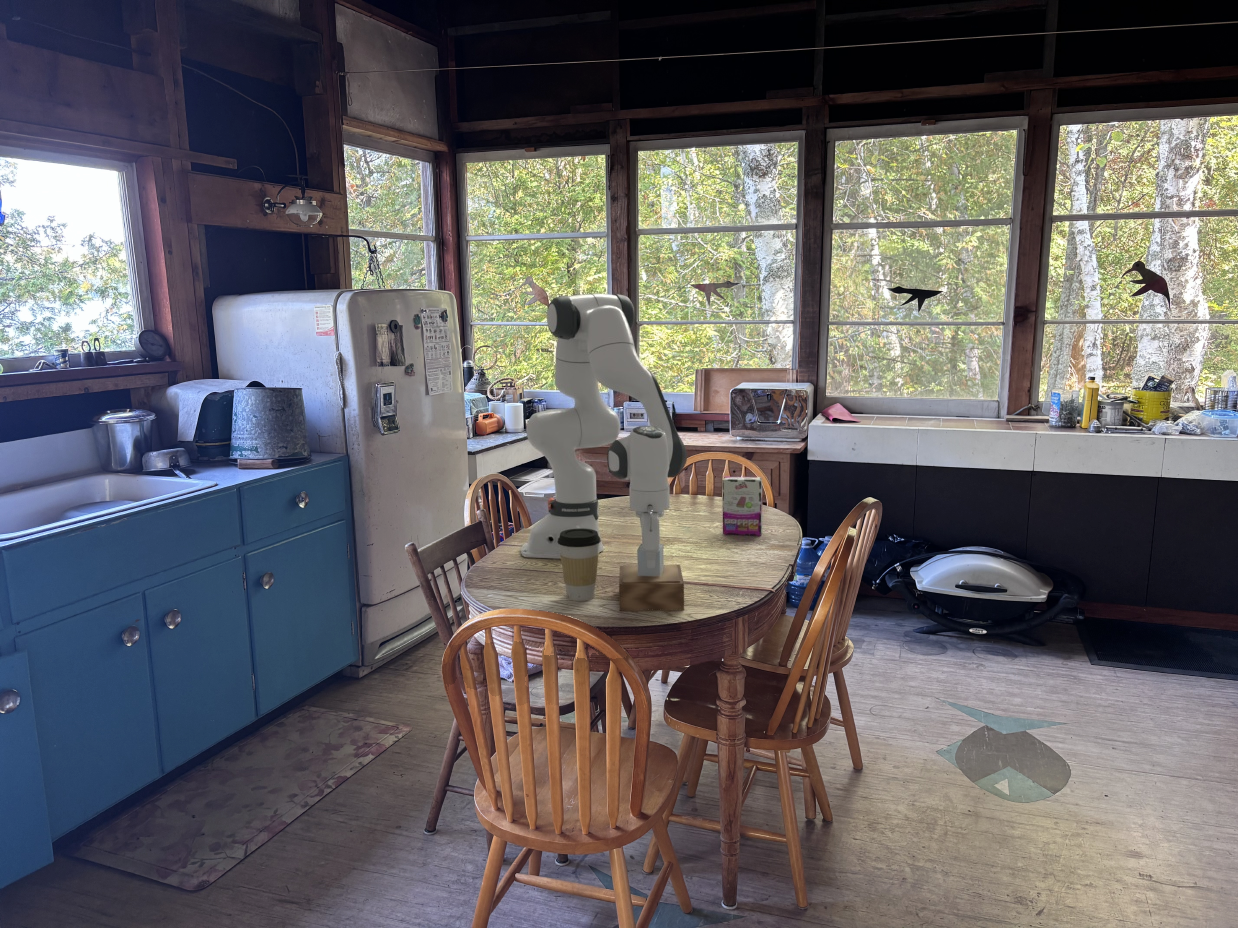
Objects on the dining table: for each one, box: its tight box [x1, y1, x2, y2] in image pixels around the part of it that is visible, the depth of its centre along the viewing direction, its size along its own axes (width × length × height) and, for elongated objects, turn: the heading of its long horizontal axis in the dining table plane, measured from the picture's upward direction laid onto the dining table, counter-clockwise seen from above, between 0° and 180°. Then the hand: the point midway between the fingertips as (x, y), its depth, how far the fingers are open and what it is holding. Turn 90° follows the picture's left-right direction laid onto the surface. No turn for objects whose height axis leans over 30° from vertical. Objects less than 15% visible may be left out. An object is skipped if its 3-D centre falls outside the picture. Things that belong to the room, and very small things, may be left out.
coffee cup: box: [557, 528, 602, 602], centre depth 195 cm, size 10×10×15 cm
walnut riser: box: [618, 563, 685, 612], centre depth 193 cm, size 14×14×6 cm
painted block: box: [636, 543, 665, 577], centre depth 192 cm, size 5×5×6 cm
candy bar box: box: [721, 476, 763, 537], centre depth 248 cm, size 11×5×16 cm, turn 76°
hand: (650, 560), depth 192 cm, fingers open, 8 cm apart
